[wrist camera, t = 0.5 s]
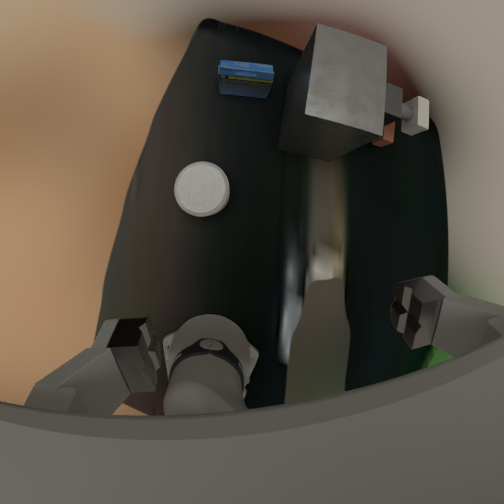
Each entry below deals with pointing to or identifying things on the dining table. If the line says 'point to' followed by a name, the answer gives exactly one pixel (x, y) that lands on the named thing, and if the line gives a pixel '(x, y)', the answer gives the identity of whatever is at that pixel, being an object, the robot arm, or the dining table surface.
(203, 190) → the beverage can
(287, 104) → the box
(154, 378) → the robot arm
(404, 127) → the white key
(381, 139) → the brown block
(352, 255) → the dining table surface
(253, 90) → the label tape box
